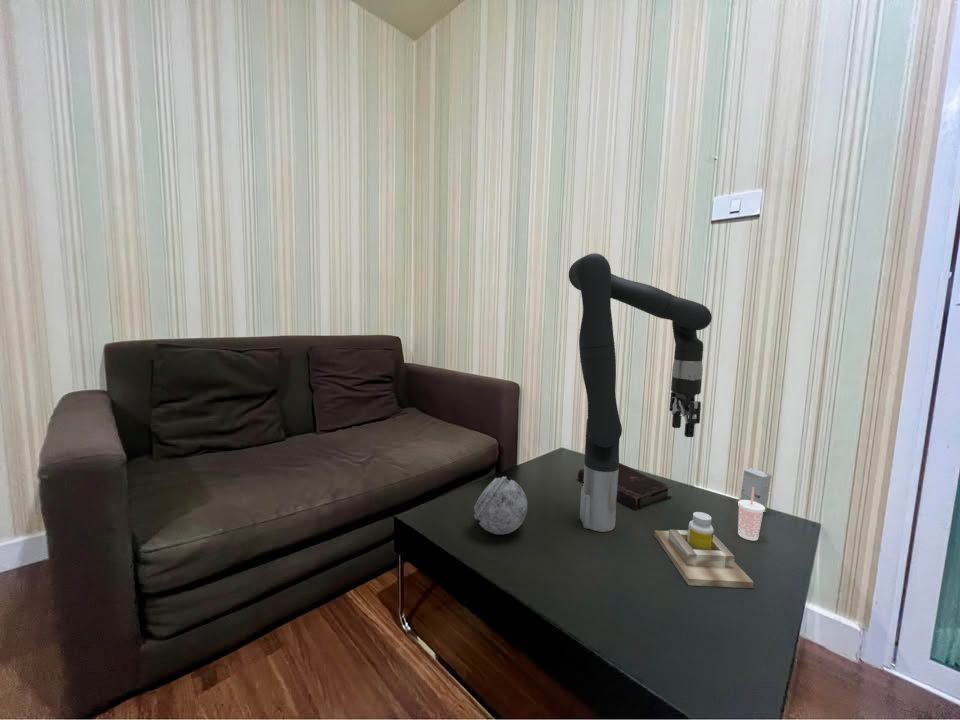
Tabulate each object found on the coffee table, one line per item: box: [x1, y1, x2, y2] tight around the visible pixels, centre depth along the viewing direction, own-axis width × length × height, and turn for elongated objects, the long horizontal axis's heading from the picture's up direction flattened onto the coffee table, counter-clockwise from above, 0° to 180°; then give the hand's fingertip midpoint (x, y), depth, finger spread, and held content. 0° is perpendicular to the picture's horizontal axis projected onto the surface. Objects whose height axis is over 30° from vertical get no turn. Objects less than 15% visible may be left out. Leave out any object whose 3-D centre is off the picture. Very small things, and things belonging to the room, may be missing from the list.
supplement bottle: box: [687, 511, 715, 550], centre depth 99 cm, size 5×5×10 cm
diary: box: [577, 462, 673, 511], centre depth 139 cm, size 19×25×5 cm
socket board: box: [653, 529, 754, 589], centre depth 100 cm, size 14×20×4 cm
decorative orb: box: [473, 476, 528, 536], centre depth 110 cm, size 15×14×15 cm
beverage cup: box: [737, 487, 765, 541], centre depth 110 cm, size 6×6×14 cm
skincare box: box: [739, 467, 772, 513], centre depth 126 cm, size 6×4×12 cm
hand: (682, 432), depth 115 cm, fingers open, 8 cm apart
